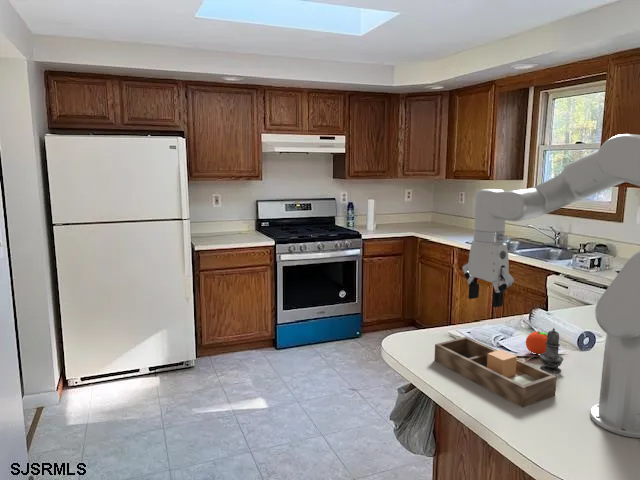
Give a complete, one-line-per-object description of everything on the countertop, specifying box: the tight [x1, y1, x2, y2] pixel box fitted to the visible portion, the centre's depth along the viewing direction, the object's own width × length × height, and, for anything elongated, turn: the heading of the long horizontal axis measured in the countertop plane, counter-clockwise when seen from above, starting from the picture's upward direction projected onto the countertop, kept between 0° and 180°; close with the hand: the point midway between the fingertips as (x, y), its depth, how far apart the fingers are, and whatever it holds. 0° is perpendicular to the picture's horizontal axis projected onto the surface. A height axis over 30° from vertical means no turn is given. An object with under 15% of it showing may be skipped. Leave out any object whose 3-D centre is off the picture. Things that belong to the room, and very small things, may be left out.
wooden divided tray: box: [434, 336, 558, 408], centre depth 127 cm, size 30×12×5 cm, turn 28°
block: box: [487, 349, 518, 377], centre depth 123 cm, size 5×5×5 cm
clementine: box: [525, 331, 548, 354], centre depth 140 cm, size 8×7×7 cm
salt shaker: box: [539, 327, 564, 375], centre depth 130 cm, size 6×6×12 cm
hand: (485, 301), depth 126 cm, fingers open, 7 cm apart
